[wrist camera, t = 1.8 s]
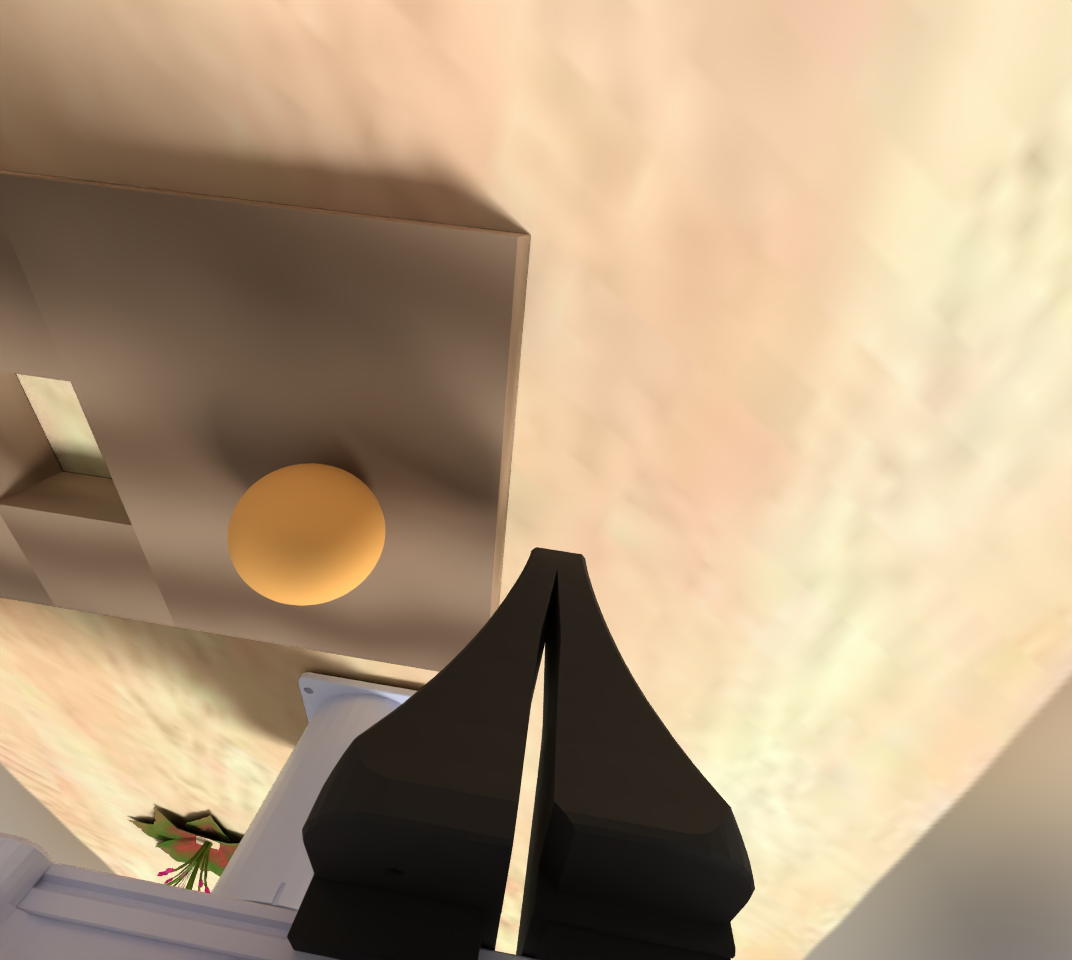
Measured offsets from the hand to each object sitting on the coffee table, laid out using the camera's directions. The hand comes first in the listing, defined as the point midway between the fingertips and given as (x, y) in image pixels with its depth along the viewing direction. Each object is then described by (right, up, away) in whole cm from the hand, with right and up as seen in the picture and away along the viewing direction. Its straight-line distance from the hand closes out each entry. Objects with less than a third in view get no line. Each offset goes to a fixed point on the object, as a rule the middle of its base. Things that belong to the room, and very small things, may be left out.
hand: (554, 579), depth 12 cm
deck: (-12, +4, +5) cm, 14 cm away
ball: (-7, +1, +1) cm, 7 cm away
